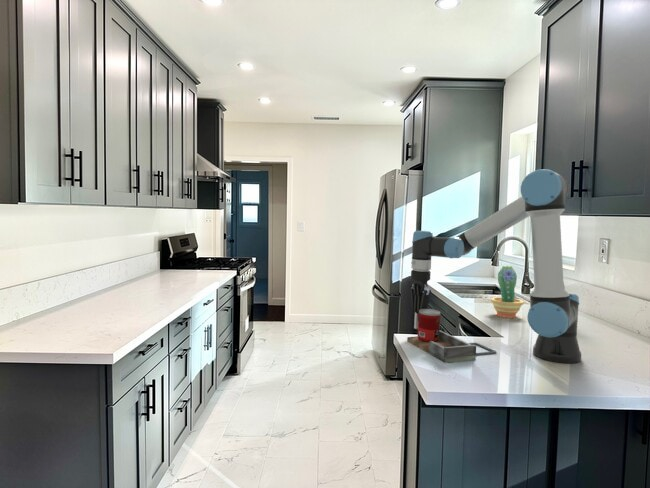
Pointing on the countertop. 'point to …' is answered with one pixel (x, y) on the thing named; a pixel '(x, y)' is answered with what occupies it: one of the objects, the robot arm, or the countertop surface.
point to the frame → (484, 348)
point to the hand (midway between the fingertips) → (418, 328)
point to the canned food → (428, 325)
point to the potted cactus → (507, 294)
